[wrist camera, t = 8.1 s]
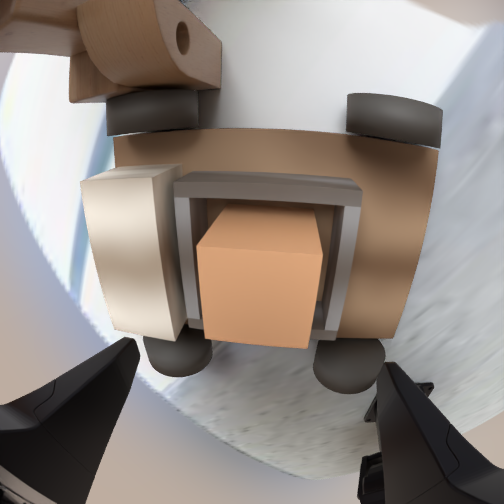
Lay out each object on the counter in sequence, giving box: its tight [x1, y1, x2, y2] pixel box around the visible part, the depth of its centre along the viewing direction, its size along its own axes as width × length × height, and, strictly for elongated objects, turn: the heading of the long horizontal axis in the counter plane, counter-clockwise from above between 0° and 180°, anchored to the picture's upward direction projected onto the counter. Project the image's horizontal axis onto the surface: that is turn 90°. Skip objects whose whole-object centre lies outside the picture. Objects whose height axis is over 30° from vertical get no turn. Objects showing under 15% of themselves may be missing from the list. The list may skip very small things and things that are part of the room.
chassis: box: [80, 89, 443, 394], centre depth 17 cm, size 18×20×6 cm
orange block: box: [196, 204, 323, 349], centre depth 15 cm, size 5×5×6 cm
